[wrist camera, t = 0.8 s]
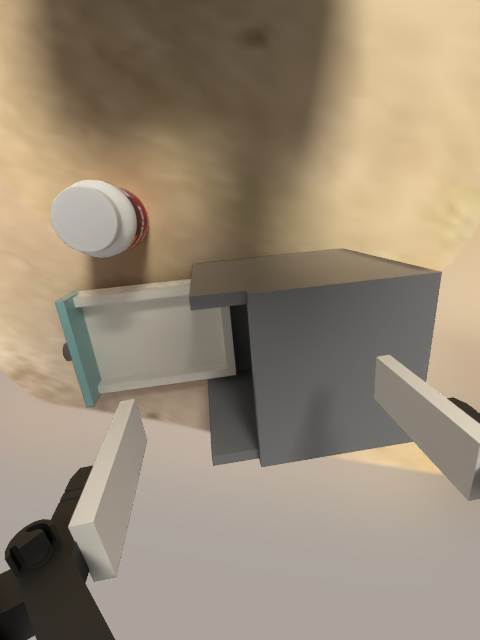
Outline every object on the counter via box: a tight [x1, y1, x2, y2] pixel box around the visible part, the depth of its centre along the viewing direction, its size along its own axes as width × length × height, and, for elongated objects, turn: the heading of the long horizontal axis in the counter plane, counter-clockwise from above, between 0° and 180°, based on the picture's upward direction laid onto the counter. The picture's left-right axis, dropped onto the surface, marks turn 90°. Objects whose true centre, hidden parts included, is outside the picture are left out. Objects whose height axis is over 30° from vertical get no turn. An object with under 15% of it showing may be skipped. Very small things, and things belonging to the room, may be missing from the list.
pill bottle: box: [50, 180, 149, 258], centre depth 27 cm, size 6×6×11 cm
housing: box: [189, 249, 442, 467], centre depth 31 cm, size 18×15×16 cm
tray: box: [55, 279, 236, 407], centre depth 34 cm, size 18×12×4 cm, turn 95°
